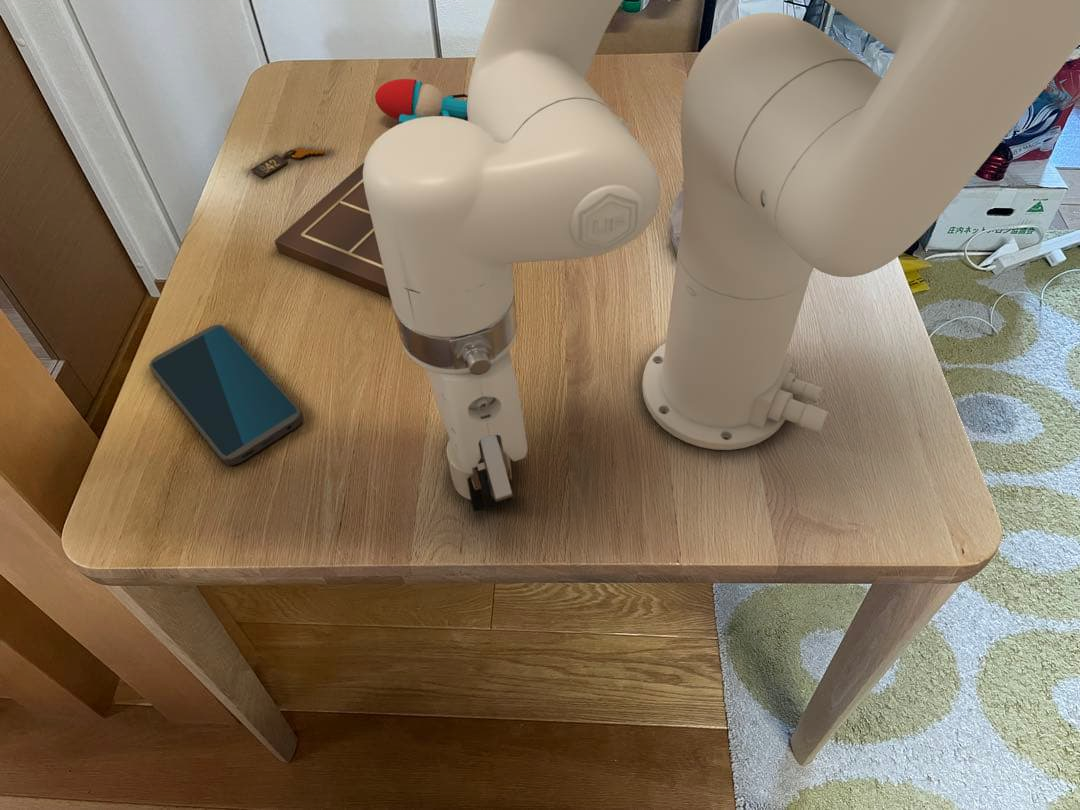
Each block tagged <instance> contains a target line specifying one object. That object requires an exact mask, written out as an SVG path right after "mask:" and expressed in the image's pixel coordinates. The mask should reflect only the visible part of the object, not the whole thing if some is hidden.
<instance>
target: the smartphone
mask: <svg viewBox="0 0 1080 810" xmlns="http://www.w3.org/2000/svg"><path fill="white" fill-rule="evenodd" d="M149 368H150V371H151V373H152V374H153V376H154V377H155V378H156V380H157V381H158V382H159V384H160V385H161V386H162V388H163V389H164V390H165V391H166V393H167V394H168V395H169V397H170V398H172V400H173V401H174V402H175V403H176V404H177V406H178V407H179V408H180V410H181V411H182V412H183V413H184V415H185V416H186V417H187V419H188V420H189V421H190V422H191V424H192V425H193V426H194V427H195V429H196V430H197V431H198V432H199V434H200V435H201V436H202V438H203V439H204V440H205V441H206V443H207V444H208V445H209V446H210V448H211V449H212V450H213V451H214V453H215V454H216V455H217V456H218V457H219V459H220V460H221V461H222V462H223V463H225V464H226V465H228V466H229V465H230V466H231V465H232V466H234V465H237V464H240V463H242V462H244V461H246V460H248V459H249V458H251V457H252V456H253V455H255V454H257V453H258V452H260V451H261V450H263V449H265V448H266V447H267V446H269V445H270V444H272V443H274V442H276V441H278V440H279V439H280V438H282V437H284V436H285V435H287V434H288V433H290V432H292V431H293V430H294V429H296V428H298V426H299V425H300V424H301V423H302V422H303V417H304V416H303V413H302V411H301V409H300V406H298V405H297V404H296V403H295V401H294V400H293V399H292V398H291V397H290V396H289V395H288V394H287V393H286V392H285V390H284V389H283V388H282V387H281V386H280V385H279V384H278V383H277V382H276V380H274V378H273V377H272V376H271V375H270V374H269V373H268V372H267V371H266V370H265V368H264V367H263V366H262V365H261V364H260V362H258V361H257V360H256V359H255V357H254V356H252V354H251V353H249V351H248V350H247V349H246V348H245V346H244V345H243V344H242V343H241V342H240V341H239V340H238V339H237V338H236V337H235V336H234V335H233V333H232V332H230V330H229V329H228V328H227V327H225V326H224V325H222V324H214V325H211V326H209V327H207V328H204V329H203V330H201V331H200V332H197V333H196V334H194V335H192V336H191V337H189V338H187V339H185V340H182V341H181V342H180V343H178V344H176V345H174V346H172V347H170V348H169V349H166V350H165V351H163V352H162V353H160V354H158V355H156V356H154V358H153V359H151V361H150V362H149Z"/></svg>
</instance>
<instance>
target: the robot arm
mask: <svg viewBox="0 0 1080 810" xmlns="http://www.w3.org/2000/svg"><path fill="white" fill-rule="evenodd" d="M623 1H624V0H494V2H493V5H492V7H491V11H490V14H489V16H488V20H487V22H486V26H485V29H484V32H483V35H482V38H481V41H480V44H479V47H478V50H477V53H476V56H475V58H474V59H475V60H474V64H473V67H472V70H471V74H470V79H469V84H468V89H467V90H468V91H467V95H468V98H467V99H468V100H467V99H466V100H467V116H468V121H465V120H462V119H458V118H454V117H446V116H430V117H422V118H416V119H413V120H409V121H406V122H403V123H401V124H399V123H398V124H396V125H395V126H392V127H391V128H389V129H387V130H386V131H385V132H383V133H382V134H381V135H380V136H379V137H378V138H376V140H375V141H374V142H373V143H372V145H371V146H370V147H369V149H368V151H367V153H366V155H365V158H364V161H363V163H364V167H363V182H364V188H365V194H366V198H367V202H368V206H369V211H370V215H371V219H372V223H373V227H374V231H375V235H376V240H377V244H378V248H379V252H380V256H381V260H382V264H383V269H384V273H385V277H386V281H387V285H388V289H389V293H390V297H391V298H390V301H391V306H392V310H393V313H394V317H395V322H396V326H397V331H398V334H399V340H400V343H401V346H402V349H403V351H404V352H405V354H406V356H407V357H408V358H409V359H410V360H411V361H412V362H414V363H415V364H416V365H418V366H420V368H423V369H424V370H425V371H426V375H427V379H428V382H429V386H430V390H431V392H432V396H433V399H434V401H435V405H436V408H437V409H438V412H439V416H440V418H441V420H442V422H443V425H444V428H445V430H446V432H447V435H448V439H449V440H451V443H452V445H453V447H454V450H455V452H456V454H457V457H458V459H459V461H460V464H461V466H462V468H463V470H464V471H466V472H467V473H470V477H469V478H467V482H468V487H469V492H470V498H471V500H470V503H471V506H472V509H473V511H475V512H478V511H482V510H486V509H487V510H492V509H495V508H499V507H500V506H502V505H504V504H505V503H506V502H509V501H512V499H513V497H514V495H513V486H512V479H511V476H510V470H509V467H508V462H507V457H506V455H507V456H508V457H509V458H510V460H511V461H512V462H517V461H520V460H522V459H525V458H526V456H527V453H528V448H529V447H528V441H527V434H526V428H525V419H524V415H523V413H524V412H523V407H522V402H521V395H520V390H519V385H518V384H519V383H518V380H517V376H516V370H515V367H514V363H513V360H512V356H511V351H510V350H511V349H512V347H513V345H514V344H515V341H516V338H517V334H518V319H517V305H516V292H515V281H514V267H513V266H514V265H513V264H520V263H522V264H523V263H537V262H552V261H553V262H556V261H568V260H569V261H571V260H581V259H588V258H592V257H598V256H601V255H606V254H609V253H611V252H614V251H616V250H618V249H621V248H622V247H625V246H627V245H628V244H630V243H631V242H633V241H634V240H636V239H637V238H638V237H639V236H640V235H641V234H642V233H644V231H645V230H646V229H647V228H648V227H649V225H650V224H651V223H652V221H653V220H654V218H655V216H656V213H657V210H658V208H659V205H660V199H661V186H660V179H659V176H658V171H657V169H656V167H655V165H654V163H653V161H652V159H651V157H650V156H649V155H648V153H647V152H646V150H645V149H644V147H643V146H642V145H641V144H640V142H639V141H638V140H637V139H636V138H635V136H634V135H633V134H632V133H631V131H630V132H629V131H628V130H627V128H626V127H625V126H624V125H623V124H622V122H621V121H620V120H619V119H618V118H617V117H616V116H617V115H616V114H615V112H614V111H613V110H612V109H611V108H610V107H609V105H607V103H606V102H605V100H604V99H603V98H602V97H601V96H600V95H599V94H598V93H597V92H596V90H595V89H594V88H593V86H591V84H590V83H589V82H588V80H586V78H587V75H588V73H589V70H590V68H591V65H592V62H593V61H594V58H595V56H596V53H597V51H598V48H599V46H600V44H601V42H602V39H603V37H604V35H605V33H606V30H607V28H608V26H609V25H610V23H611V21H612V19H613V17H614V16H615V14H616V12H617V11H618V9H619V8H620V6H621V4H622V3H623ZM825 2H826V3H828V4H829V5H830V6H831V7H832V8H834V9H835V10H836V11H838V12H839V13H840V14H841V15H843V17H845V18H846V19H848V20H849V21H850V22H852V23H853V24H855V25H856V26H857V27H859V28H860V29H861V30H863V31H864V32H865V33H867V34H868V35H870V36H871V37H873V39H875V40H876V41H878V42H879V43H881V44H882V45H883V46H884V47H886V48H887V49H889V50H890V51H891V52H892V53H894V56H893V58H892V59H891V61H890V63H889V65H888V67H887V68H886V70H885V72H884V74H883V76H882V77H881V76H880V75H879V74H877V73H876V72H875V71H874V70H873V69H872V68H871V67H870V66H869V65H868V64H867V63H865V62H864V61H863V60H861V59H860V58H859V57H857V56H856V55H855V54H853V52H851V51H850V50H848V49H847V48H845V47H844V46H843V45H841V44H840V43H839V42H838V41H836V40H835V39H834V38H832V37H831V36H830V35H829V34H827V33H826V32H824V31H823V30H821V29H820V28H818V27H816V26H815V25H813V24H812V23H809V22H807V21H806V20H803V19H801V18H798V17H796V16H792V15H789V14H786V13H780V12H758V13H753V14H748V15H747V16H743V17H740V18H738V19H736V20H734V21H731V22H730V23H728V24H727V25H726V26H724V27H723V28H721V29H720V30H719V31H717V32H716V33H715V34H714V35H713V36H712V37H710V39H709V40H708V41H707V43H706V44H705V45H704V46H703V48H702V49H701V50H700V52H699V53H698V55H697V56H696V57H695V60H694V62H693V64H692V66H691V68H690V70H689V73H688V75H687V78H686V81H685V85H684V89H683V92H682V100H681V107H680V146H681V158H682V173H683V182H684V200H683V213H682V222H681V231H680V239H679V246H678V254H677V253H676V255H677V256H676V263H675V270H674V277H673V286H672V294H671V299H670V300H671V301H670V309H669V317H668V325H667V331H666V339H665V342H664V343H662V344H661V345H660V346H658V347H657V348H656V350H654V352H653V353H652V354H651V355H650V357H649V358H648V360H647V362H646V364H645V367H644V370H643V373H642V380H641V381H642V382H641V390H642V398H643V400H644V403H645V406H646V409H647V410H648V412H649V413H650V415H651V417H652V418H653V419H654V420H655V422H656V423H657V424H658V425H659V426H660V427H661V428H662V429H663V430H665V431H666V432H668V433H669V434H670V435H672V436H673V437H675V438H676V439H679V440H680V441H683V442H685V443H687V444H689V445H693V446H696V447H699V448H704V449H708V450H709V449H710V450H714V451H715V450H717V451H718V450H719V451H720V450H723V451H731V450H739V449H740V450H741V449H745V448H749V447H752V446H755V445H758V444H760V443H761V442H764V441H766V440H767V439H769V438H770V437H771V436H773V435H774V434H775V433H777V432H778V430H780V428H781V427H782V426H783V424H784V423H785V422H786V421H787V422H788V421H789V422H791V423H794V424H796V425H797V426H798V427H800V428H802V429H805V430H808V431H810V432H813V433H816V434H818V435H820V433H821V431H822V429H823V427H824V425H825V422H826V420H827V418H828V415H829V411H827V410H825V409H822V408H820V407H817V406H815V405H812V404H810V403H804V402H801V401H798V400H796V399H794V395H795V396H797V397H800V398H801V399H804V400H807V401H809V402H812V403H814V404H817V403H818V400H819V399H820V397H821V393H822V392H823V387H822V386H818V385H816V384H813V383H810V382H806V381H804V380H800V379H798V378H796V374H795V373H793V372H790V371H791V367H792V365H793V361H794V358H795V357H794V355H793V354H790V353H788V350H789V348H790V343H791V340H792V337H793V334H794V331H795V328H796V324H797V321H798V317H799V315H800V311H801V307H802V304H803V301H804V298H805V295H806V292H807V288H808V285H809V282H810V279H811V275H812V272H813V270H814V269H815V270H817V271H819V272H820V273H824V274H826V275H829V276H833V277H838V278H853V277H859V276H864V275H868V274H869V273H872V272H874V271H876V270H877V271H878V270H879V269H881V268H883V267H884V266H886V265H888V264H889V263H891V262H892V261H894V260H896V259H897V258H898V257H900V256H901V255H902V254H903V253H904V252H906V251H907V250H908V249H909V248H910V247H911V246H913V244H915V243H916V242H917V241H918V240H919V239H920V238H921V237H922V236H923V235H924V234H925V233H926V232H927V231H928V230H929V229H930V228H931V226H932V225H933V224H934V223H935V222H936V221H937V220H938V219H939V218H940V217H941V215H943V213H944V212H945V210H946V209H947V208H948V207H949V206H950V204H952V202H953V201H954V200H955V199H956V198H957V196H958V195H959V194H960V193H961V192H962V190H963V189H964V187H965V186H966V185H967V184H968V183H969V182H970V180H971V179H972V178H973V177H974V175H975V174H976V173H977V172H978V171H979V169H981V168H982V165H984V163H985V162H986V161H987V160H988V159H989V157H990V156H991V154H992V153H993V152H994V151H995V150H996V149H997V147H998V146H999V145H1000V144H1001V142H1002V141H1003V140H1004V139H1005V137H1006V136H1007V135H1008V134H1009V133H1010V131H1012V129H1013V128H1014V127H1015V125H1016V124H1017V123H1018V122H1019V121H1020V119H1021V118H1022V117H1023V116H1024V114H1025V113H1026V112H1027V110H1028V109H1029V108H1030V107H1031V106H1032V105H1033V103H1034V102H1035V101H1036V100H1037V98H1038V97H1039V96H1040V95H1041V94H1042V92H1043V91H1044V90H1045V89H1046V87H1047V86H1048V85H1049V84H1050V83H1051V81H1052V80H1053V79H1054V78H1055V77H1056V75H1057V74H1058V73H1059V72H1060V70H1062V67H1063V66H1064V65H1065V64H1066V63H1067V61H1068V60H1069V58H1071V56H1072V54H1073V53H1074V52H1075V51H1076V49H1077V48H1078V46H1079V45H1080V0H825ZM483 462H484V465H485V469H482V470H479V471H478V467H477V465H478V464H480V463H483Z"/></svg>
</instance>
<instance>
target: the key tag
mask: <svg viewBox="0 0 1080 810" xmlns="http://www.w3.org/2000/svg"><path fill="white" fill-rule="evenodd" d="M325 153H326V151H325V150H309V149H305V148H303V147H295V148H293V149H289V150H288V151H286V152H284V153H283V155H281V156H279V155H278V154H275V155H273V156H271V157H269V158H268V159H266V160H265V161H262V162H261V163H259V164H257V165H255V166H254V167H252V168H251V169H250V171H251V172H252V173H254V174H256V175H257V176H259V177H260V178H263V179H264V178H265V177H267V176H268V175H270V174H272V173H273V172H275V171H277V170H278V169H280V168H282V167H283V166H286V165H287V164H288V163H289V161H288V160H286V159H287V158H289V157H292V158H294V159H302V158H304V157H305V156H307V157H309V155H311V156H313V155H315V156H317V155H324V154H325Z"/></svg>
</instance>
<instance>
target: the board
mask: <svg viewBox="0 0 1080 810" xmlns="http://www.w3.org/2000/svg"><path fill="white" fill-rule="evenodd" d="M363 167H364V162H362V163H361V165H359V166H358V167H357V168H356V169H355V170H353V172H351V173H350V174H349V175H348V176H347V177H345V178H344V179H343V180H342V181H341V182H340V183H339V184H338V185H336V186H335V187H333V189H332V190H331V191H330V192H328V193H327V194H326V195H325V196H324V197H322V198H321V199H320V200H319V201H318V202H317V203H316V204H314V205H313V206H312V207H311V208H310V209H309V210H308V211H307V212H305V213H304V214H303V215H302V216H301V217H300V218H298V219H297V220H296V221H295V222H294V223H293V224H292V225H290V226H289V227H288V228H287V229H285V231H283V232H282V233H281V234H280V235H279V236H278V237H277V238H276V239H275V240H274V244H275V246H276V249H277V252H278V253H280V254H283V255H284V256H287V257H290V258H292V259H294V260H297V261H299V262H302V263H304V264H306V265H310V266H312V267H314V268H316V269H319V270H322V271H323V272H326V273H329V274H332V275H333V276H335V277H338V278H341V279H343V280H345V281H347V282H350V283H353V284H356V285H357V286H360V287H363V288H364V289H367V290H369V291H371V292H374V293H377V294H380V295H381V296H384V297H387V298H389V299H391V297H390V293H389V289H388V285H387V281H386V277H385V273H384V269H383V264H382V260H381V256H380V252H379V248H378V244H377V240H376V235H375V231H374V227H373V223H372V219H371V215H370V211H369V206H368V202H367V198H366V194H365V188H364V182H363Z"/></svg>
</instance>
